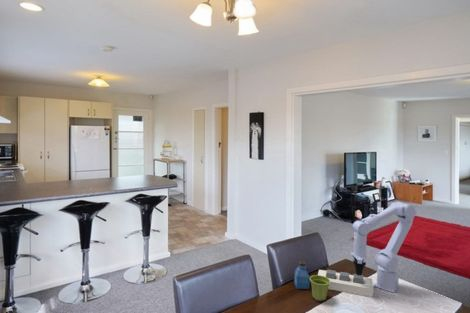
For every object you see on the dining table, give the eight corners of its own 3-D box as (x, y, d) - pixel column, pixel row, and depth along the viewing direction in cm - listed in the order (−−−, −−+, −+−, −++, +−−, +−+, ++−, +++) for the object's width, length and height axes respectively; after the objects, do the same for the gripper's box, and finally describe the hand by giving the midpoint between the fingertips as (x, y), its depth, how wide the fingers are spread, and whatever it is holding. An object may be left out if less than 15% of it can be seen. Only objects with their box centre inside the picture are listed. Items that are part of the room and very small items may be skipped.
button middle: (349, 280, 155) (349, 273, 155) (348, 284, 151) (349, 276, 151) (339, 279, 157) (340, 271, 156) (339, 282, 152) (339, 275, 152)
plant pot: (330, 294, 146) (330, 277, 145) (329, 304, 137) (330, 286, 136) (310, 291, 149) (310, 273, 148) (308, 300, 140) (308, 282, 139)
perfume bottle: (309, 289, 151) (309, 265, 150) (296, 288, 151) (297, 265, 150) (306, 283, 157) (307, 260, 156) (294, 282, 157) (295, 260, 156)
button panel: (371, 286, 155) (371, 278, 155) (373, 297, 144) (373, 289, 143) (318, 276, 164) (319, 269, 164) (316, 286, 153) (316, 279, 153)
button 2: (362, 283, 153) (363, 275, 152) (363, 287, 149) (363, 279, 148) (353, 281, 154) (353, 273, 154) (353, 285, 150) (353, 277, 150)
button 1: (335, 278, 157) (335, 270, 157) (335, 282, 153) (335, 274, 153) (326, 276, 159) (327, 269, 159) (326, 280, 155) (326, 272, 155)
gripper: (351, 240, 158) (350, 265, 159) (351, 249, 145) (350, 277, 146) (365, 242, 156) (364, 267, 157) (367, 251, 142) (366, 279, 143)
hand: (358, 272), depth 151 cm, fingers open, 6 cm apart
